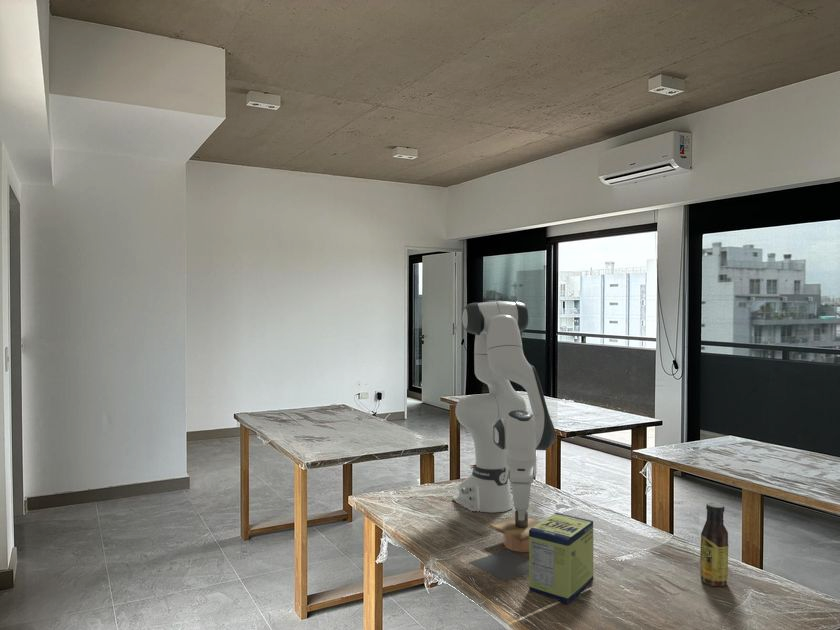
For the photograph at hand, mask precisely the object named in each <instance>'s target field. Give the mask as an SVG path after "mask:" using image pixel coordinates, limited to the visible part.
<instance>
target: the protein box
mask: <svg viewBox="0 0 840 630" xmlns="http://www.w3.org/2000/svg"><path fill="white" fill-rule="evenodd" d="M540 522H541V523H539V524H537V525H536V526H534V527H532V528H531V529H530V530H529V552H528V556H529V558H528V560H529V573H528V577H529V579H528V580H529V583H528V585H529V588H528V590H529V591H530V592H533V593H537V594H538V595H539V594H540V595H543V596H546V597H548V598H549V597H550V598H551V599H554V600H555V599H556V600H557V602H559V603H563V604H566V605H569V604H570V603H572V602H573V600H575V599H576V598H577V597H578V596H579V595H580V594H581V593H582V592H584V591H585V590H586V587H587V586H588V585H589V584H591V582H592V581H593V580H594V520H590V519H585V518H582V517H577V516H572V515H569V514H568V515H567V514H564V513H560V512H559V513H558V512H555V513H553V514H552V515H550V516H549V517H547V518H546V519H545V518H544V520H542V521H540Z"/></svg>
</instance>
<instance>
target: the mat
mask: <svg viewBox="0 0 840 630" xmlns="http://www.w3.org/2000/svg"><path fill="white" fill-rule="evenodd" d="M468 563H469V564H470V565H472V566H475V567H477V568H478V569H480V570H482V571H484V572H486V573H487V574H490V575H492V576H494V577H495V578H497V579H499V580H501V581H504V582H508V581H510V580H512V579H516V578H517V577H521V576H523V575H526V574H529V558H525V557H523V556H521V555H519V554H516V553H514V551H511V550H509V549H504V550H500V551H499V552H496V553H492V554H490V555H487V556H484V557H481V558H478V559H475V560H471V561H469V562H468Z"/></svg>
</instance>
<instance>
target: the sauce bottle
mask: <svg viewBox="0 0 840 630" xmlns="http://www.w3.org/2000/svg"><path fill="white" fill-rule="evenodd" d="M705 509H706V521H705V523H704V525H703V528H702V530H701V533H700V548H699V549H700V554H699V556H700V557H699V559H700V561H699V574H700V580H701V581H702V582H703V583H704V584H706V585H708V586H710V587H711V586H712V587H725V586H726V585H727V583H728V578H729V577H728V574H729V573H728V572H729V571H728V570H729V569H728V568H729V533H728V529H727V528H726V526H725V524H724V512H725V505H724V504H722V503H720V502H718V501H717V502H715V501H710V502H709V501H708V502H707V503H706V507H705Z"/></svg>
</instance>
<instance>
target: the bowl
mask: <svg viewBox="0 0 840 630" xmlns="http://www.w3.org/2000/svg"><path fill="white" fill-rule="evenodd" d="M502 535H503V539H502V540H503V545H504V547H505V548H506V549H507V550H509V551H511V552H520V553H526V552H527V553H529V539H528V540H525V541H522V542H521V541H519V540H517V539H514V538H512V537H510V536H507V535H505V534H503V533H502Z"/></svg>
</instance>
